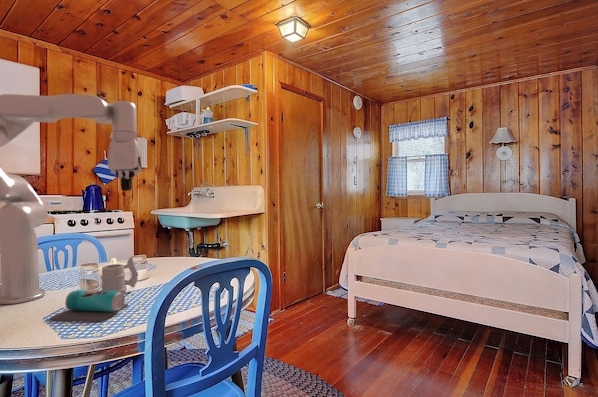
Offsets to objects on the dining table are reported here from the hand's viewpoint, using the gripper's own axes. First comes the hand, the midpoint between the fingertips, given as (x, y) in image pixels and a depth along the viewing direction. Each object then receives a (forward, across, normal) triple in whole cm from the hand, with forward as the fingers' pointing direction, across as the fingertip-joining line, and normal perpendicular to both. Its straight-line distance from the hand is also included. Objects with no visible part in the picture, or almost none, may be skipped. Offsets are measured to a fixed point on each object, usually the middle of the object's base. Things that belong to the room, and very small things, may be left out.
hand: (126, 190), depth 119 cm
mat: (+35, +2, -22) cm, 42 cm away
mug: (+35, 0, -5) cm, 36 cm away
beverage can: (+32, +12, -22) cm, 40 cm away
